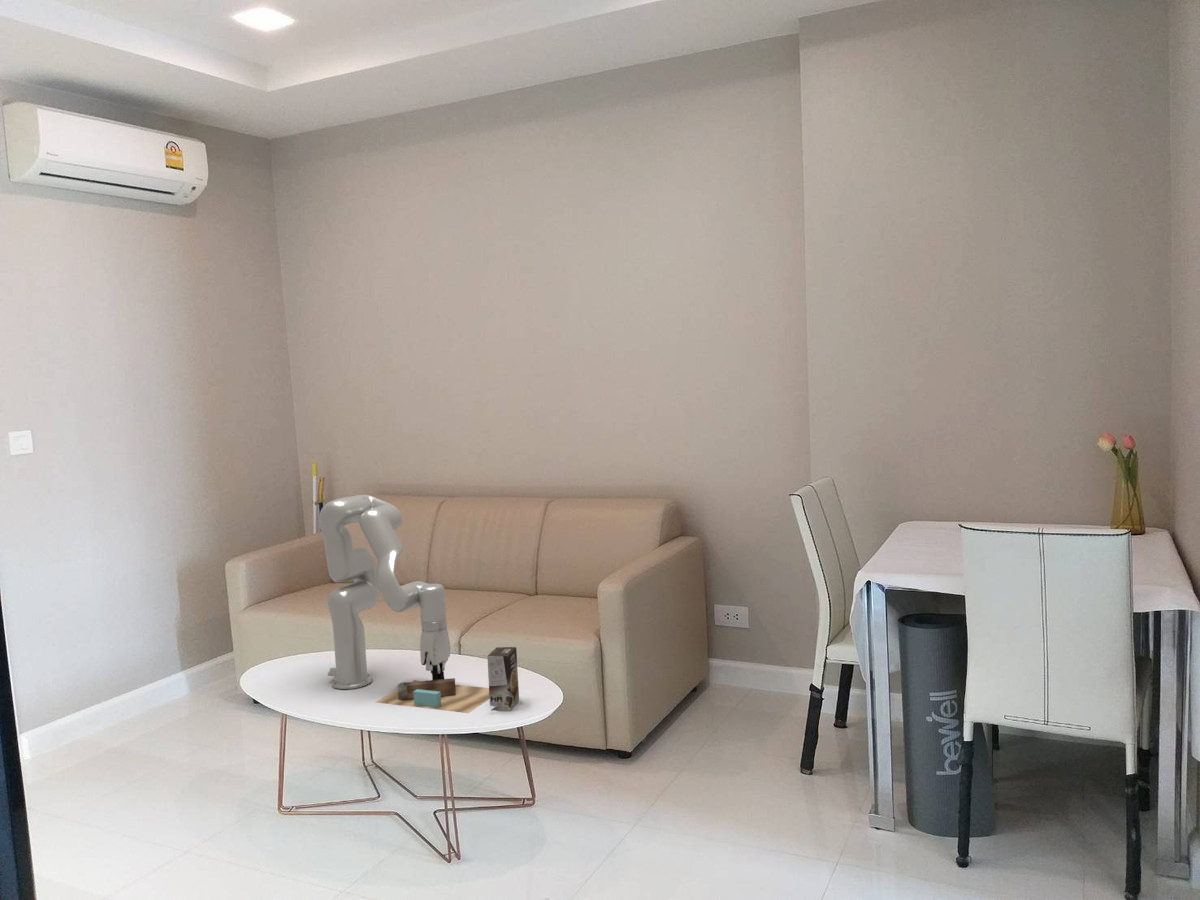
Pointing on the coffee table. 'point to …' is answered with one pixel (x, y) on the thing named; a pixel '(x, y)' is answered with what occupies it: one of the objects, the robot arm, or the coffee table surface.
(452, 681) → the folding leg
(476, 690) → the stool top
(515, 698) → the coffee box
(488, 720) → the coffee table surface
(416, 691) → the stop block
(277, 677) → the coffee table surface
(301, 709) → the coffee table surface
